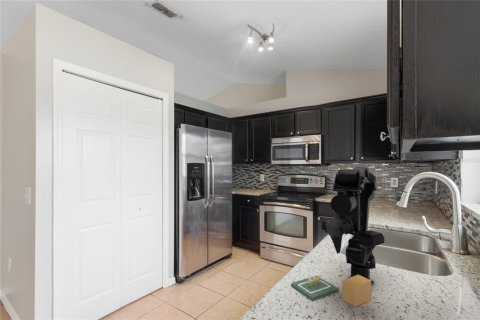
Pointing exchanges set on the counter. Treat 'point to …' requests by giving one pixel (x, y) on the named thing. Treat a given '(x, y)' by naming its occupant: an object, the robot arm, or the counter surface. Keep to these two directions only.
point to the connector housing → (356, 290)
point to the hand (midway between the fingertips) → (350, 258)
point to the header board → (314, 287)
